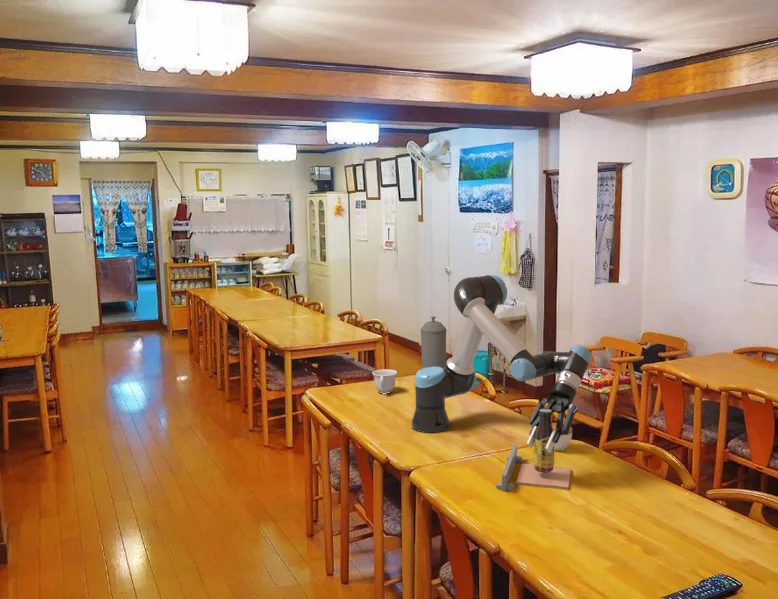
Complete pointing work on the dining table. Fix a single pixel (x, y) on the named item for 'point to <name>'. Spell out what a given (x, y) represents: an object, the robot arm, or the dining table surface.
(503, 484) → the grey wall
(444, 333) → the canister
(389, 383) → the teacup
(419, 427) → the robot arm
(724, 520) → the dining table surface
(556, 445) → the lidded jar
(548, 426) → the sauce bottle
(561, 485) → the terracotta tile
